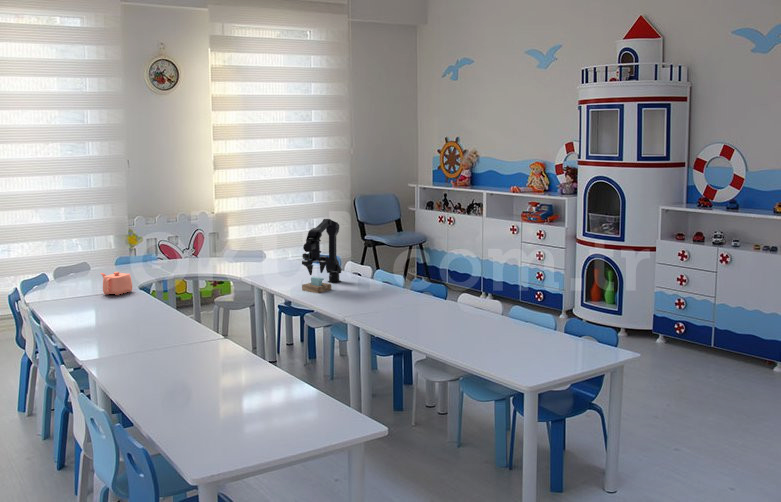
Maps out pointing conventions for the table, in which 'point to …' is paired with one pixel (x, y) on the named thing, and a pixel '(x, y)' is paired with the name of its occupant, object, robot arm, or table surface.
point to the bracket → (316, 281)
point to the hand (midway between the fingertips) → (316, 274)
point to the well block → (316, 287)
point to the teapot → (116, 283)
